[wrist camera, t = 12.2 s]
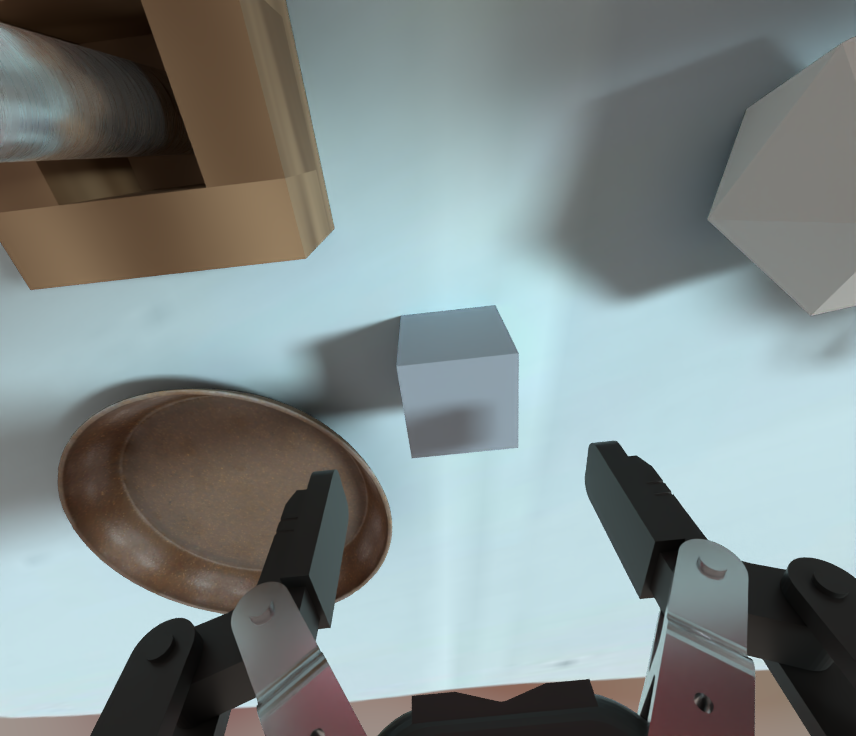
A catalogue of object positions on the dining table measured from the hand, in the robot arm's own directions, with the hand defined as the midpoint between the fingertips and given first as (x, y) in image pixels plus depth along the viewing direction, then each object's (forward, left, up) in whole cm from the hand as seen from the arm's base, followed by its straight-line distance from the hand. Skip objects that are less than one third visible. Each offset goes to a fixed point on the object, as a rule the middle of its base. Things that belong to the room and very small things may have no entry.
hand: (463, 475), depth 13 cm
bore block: (+9, -11, -8) cm, 16 cm away
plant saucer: (+13, +8, -9) cm, 17 cm away
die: (-14, -7, -9) cm, 18 cm away
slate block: (0, 0, -8) cm, 8 cm away
